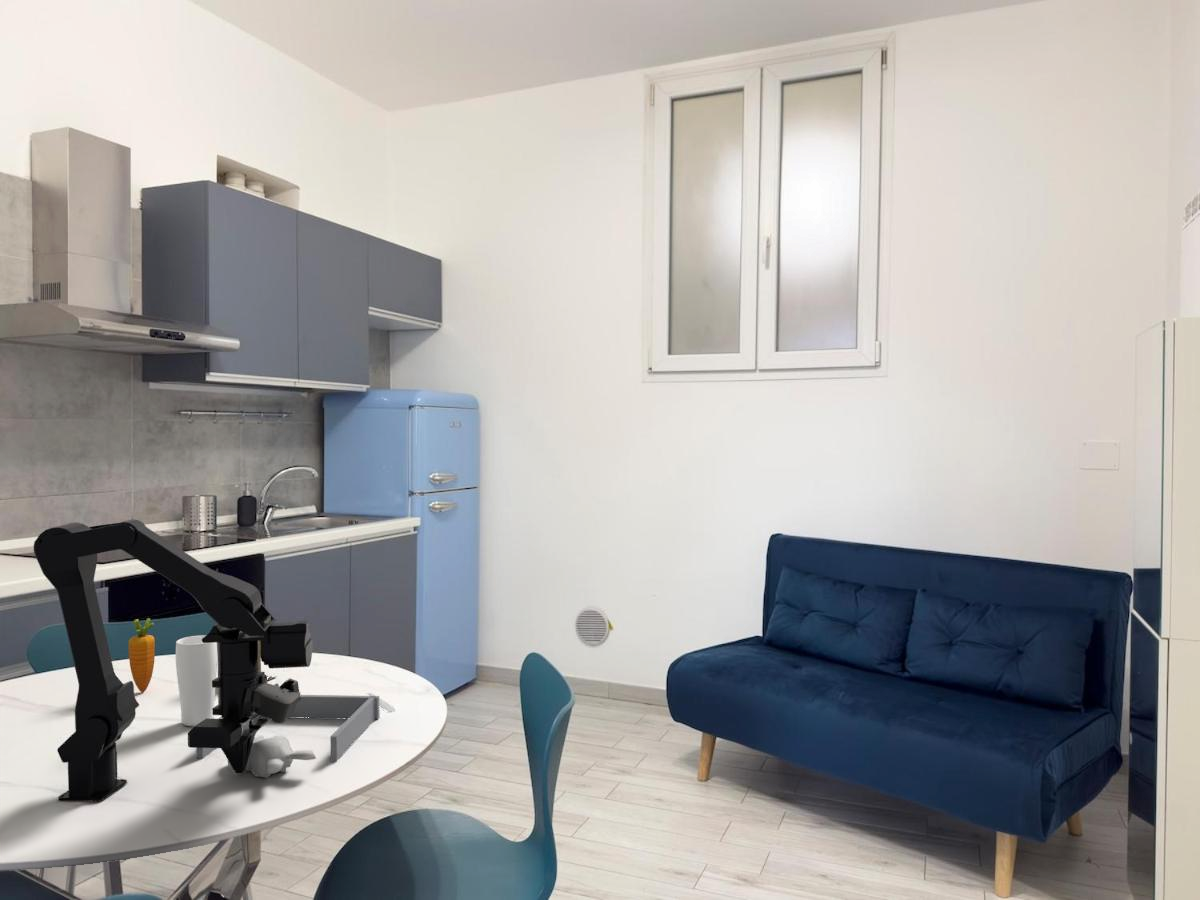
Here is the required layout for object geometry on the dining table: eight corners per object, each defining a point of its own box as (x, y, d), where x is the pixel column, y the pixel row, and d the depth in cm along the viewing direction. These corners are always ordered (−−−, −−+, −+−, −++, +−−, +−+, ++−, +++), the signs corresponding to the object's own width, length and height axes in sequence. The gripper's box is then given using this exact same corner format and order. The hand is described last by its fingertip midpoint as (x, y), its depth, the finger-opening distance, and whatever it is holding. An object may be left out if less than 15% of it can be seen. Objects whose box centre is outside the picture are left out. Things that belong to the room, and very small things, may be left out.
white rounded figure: (268, 726, 141) (321, 736, 132) (270, 757, 141) (324, 769, 132) (212, 743, 134) (264, 755, 125) (215, 776, 134) (267, 790, 124)
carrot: (150, 686, 175) (148, 613, 175) (161, 691, 172) (159, 617, 171) (124, 692, 171) (122, 618, 171) (135, 698, 168) (133, 622, 168)
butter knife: (381, 712, 159) (397, 708, 160) (339, 677, 181) (353, 674, 183) (382, 715, 159) (397, 711, 160) (339, 680, 181) (353, 677, 183)
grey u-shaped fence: (340, 761, 137) (339, 736, 136) (193, 758, 138) (193, 733, 138) (379, 717, 157) (379, 696, 156) (251, 715, 158) (251, 693, 158)
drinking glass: (202, 730, 150) (200, 645, 150) (168, 727, 152) (166, 643, 151) (226, 717, 157) (225, 635, 157) (193, 714, 158) (192, 634, 158)
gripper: (262, 690, 118) (264, 801, 119) (315, 653, 137) (317, 750, 137) (184, 688, 119) (186, 799, 120) (248, 652, 138) (249, 748, 138)
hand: (240, 772), depth 129 cm, fingers closed
